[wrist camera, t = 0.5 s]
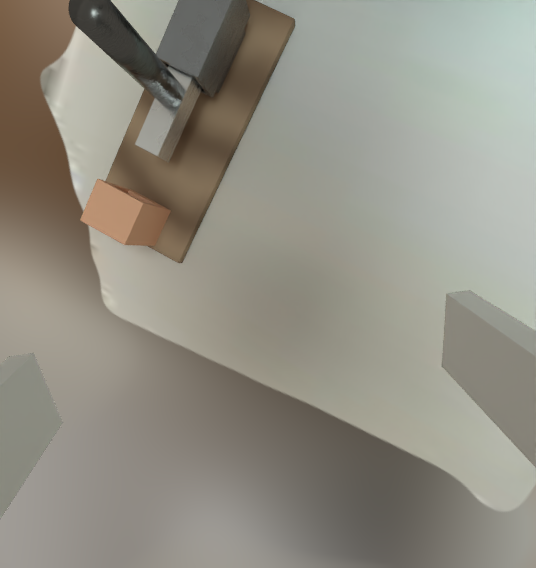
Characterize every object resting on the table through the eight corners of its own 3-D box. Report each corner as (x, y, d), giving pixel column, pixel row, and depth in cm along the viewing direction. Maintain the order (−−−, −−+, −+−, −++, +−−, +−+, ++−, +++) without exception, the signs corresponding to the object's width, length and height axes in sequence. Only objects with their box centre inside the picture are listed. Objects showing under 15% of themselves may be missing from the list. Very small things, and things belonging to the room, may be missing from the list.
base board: (197, -20, 36) (194, -28, 35) (295, 25, 35) (294, 18, 34) (96, 215, 39) (90, 215, 38) (182, 262, 39) (178, 262, 38)
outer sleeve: (215, 7, 35) (195, -40, 29) (253, 24, 34) (240, -19, 29) (180, 86, 36) (155, 56, 30) (216, 104, 35) (197, 77, 30)
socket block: (132, 189, 38) (97, 178, 32) (171, 210, 37) (143, 203, 31) (116, 224, 38) (80, 220, 32) (154, 245, 38) (124, 244, 32)
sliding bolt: (223, -23, 32) (153, -222, 19) (247, -13, 32) (193, -206, 18) (147, 151, 35) (36, 88, 21) (168, 162, 34) (70, 105, 21)
